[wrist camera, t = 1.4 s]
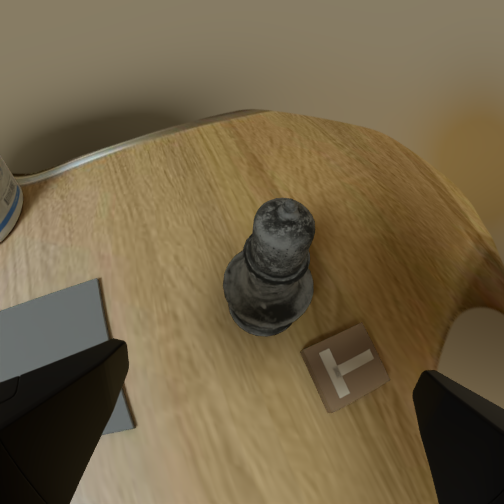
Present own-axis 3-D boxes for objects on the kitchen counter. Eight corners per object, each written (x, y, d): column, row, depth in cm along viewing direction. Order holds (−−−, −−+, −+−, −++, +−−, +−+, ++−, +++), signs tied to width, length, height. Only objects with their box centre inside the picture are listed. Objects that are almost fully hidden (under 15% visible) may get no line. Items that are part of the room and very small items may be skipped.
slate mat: (135, 428, 17) (133, 428, 17) (14, 445, 15) (12, 445, 14) (98, 280, 23) (96, 278, 22) (-5, 315, 20) (-8, 313, 20)
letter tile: (381, 382, 20) (390, 379, 19) (325, 412, 19) (332, 412, 18) (354, 327, 23) (362, 321, 21) (298, 353, 21) (303, 349, 20)
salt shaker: (259, 253, 25) (278, 135, 14) (317, 299, 23) (381, 201, 13) (207, 304, 22) (187, 201, 12) (268, 356, 21) (307, 296, 10)
